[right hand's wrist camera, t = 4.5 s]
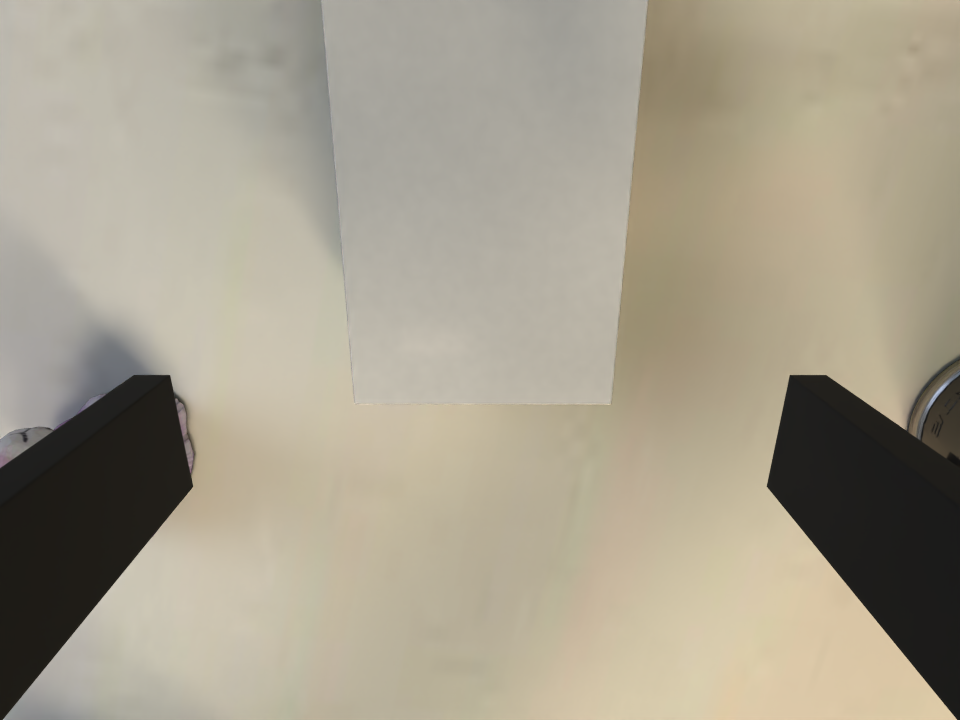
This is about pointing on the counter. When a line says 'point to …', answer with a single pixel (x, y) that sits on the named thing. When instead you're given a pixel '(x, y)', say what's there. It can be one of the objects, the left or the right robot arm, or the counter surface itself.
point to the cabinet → (483, 194)
